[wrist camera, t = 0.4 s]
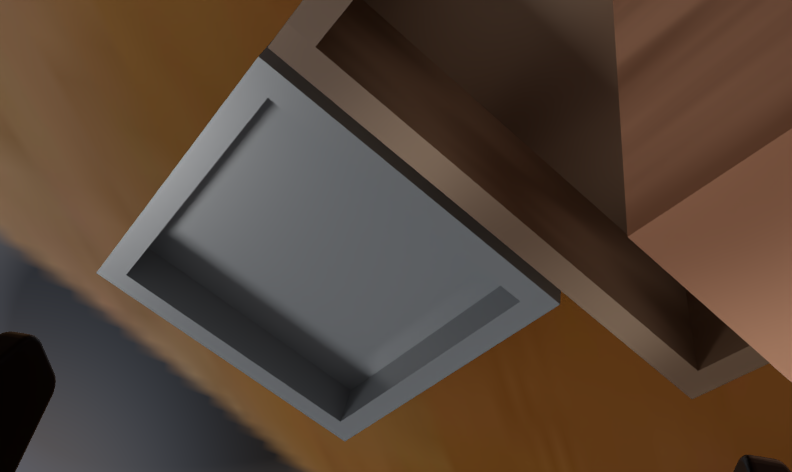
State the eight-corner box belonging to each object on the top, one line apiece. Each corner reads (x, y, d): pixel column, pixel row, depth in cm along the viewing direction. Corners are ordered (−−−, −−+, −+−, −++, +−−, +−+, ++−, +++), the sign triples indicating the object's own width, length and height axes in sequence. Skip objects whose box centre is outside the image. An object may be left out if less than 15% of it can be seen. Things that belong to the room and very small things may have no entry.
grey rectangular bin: (562, 251, 23) (559, 304, 21) (361, 390, 29) (344, 441, 27) (290, 19, 20) (258, 56, 18) (132, 229, 26) (96, 273, 24)
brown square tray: (1288, -44, 15) (1476, 31, 11) (678, 302, 23) (692, 399, 20) (860, -723, 11) (967, -883, 8) (319, -12, 19) (267, 47, 16)
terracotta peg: (879, -23, 16) (1150, 260, 8) (719, 94, 18) (813, 401, 10) (765, -158, 15) (952, 22, 7) (612, -15, 17) (627, 236, 9)
